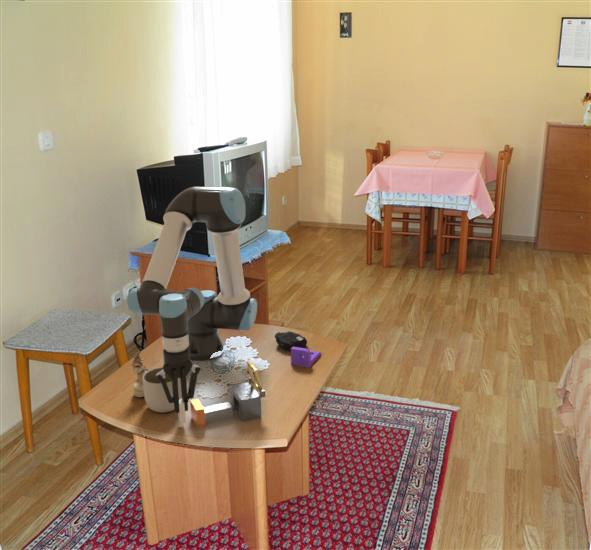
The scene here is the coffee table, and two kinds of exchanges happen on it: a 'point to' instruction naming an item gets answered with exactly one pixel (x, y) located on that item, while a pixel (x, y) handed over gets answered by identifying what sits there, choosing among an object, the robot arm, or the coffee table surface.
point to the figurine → (138, 374)
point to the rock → (290, 340)
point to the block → (246, 400)
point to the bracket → (303, 356)
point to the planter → (158, 391)
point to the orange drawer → (209, 413)
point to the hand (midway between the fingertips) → (182, 420)
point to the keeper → (250, 368)
